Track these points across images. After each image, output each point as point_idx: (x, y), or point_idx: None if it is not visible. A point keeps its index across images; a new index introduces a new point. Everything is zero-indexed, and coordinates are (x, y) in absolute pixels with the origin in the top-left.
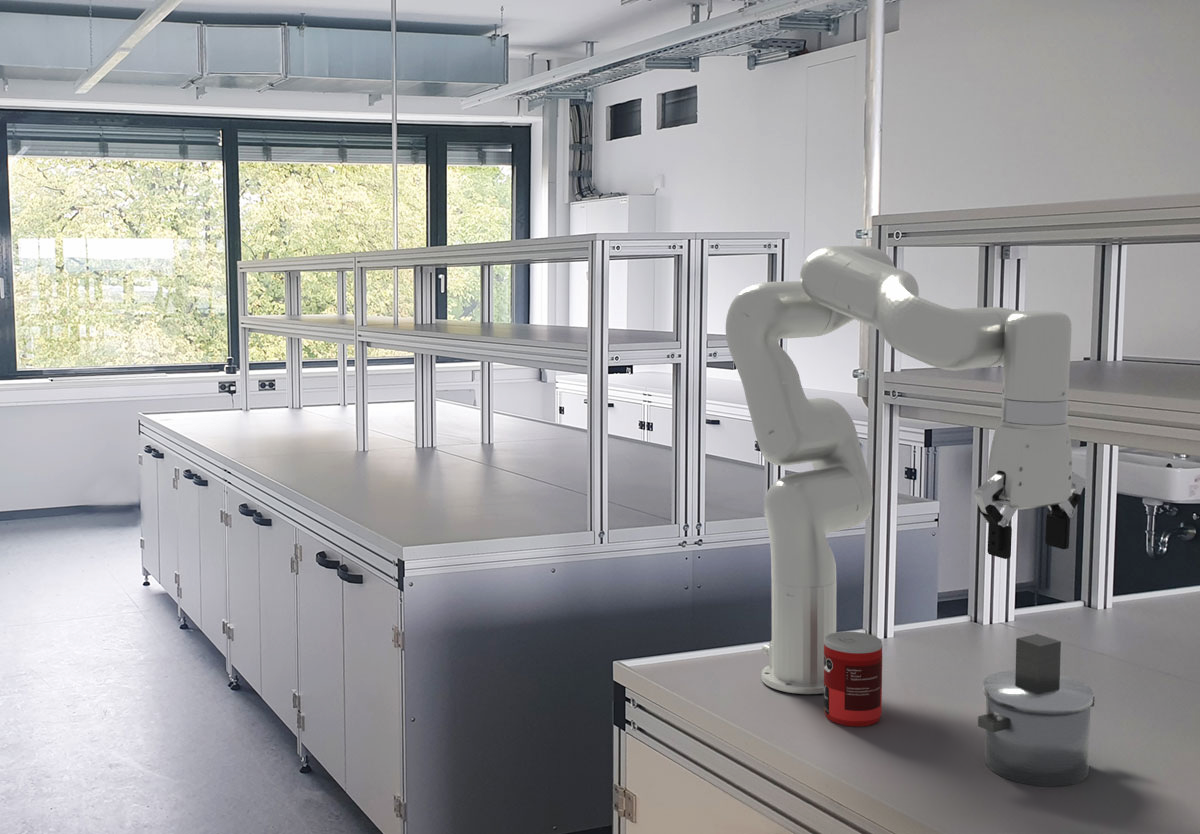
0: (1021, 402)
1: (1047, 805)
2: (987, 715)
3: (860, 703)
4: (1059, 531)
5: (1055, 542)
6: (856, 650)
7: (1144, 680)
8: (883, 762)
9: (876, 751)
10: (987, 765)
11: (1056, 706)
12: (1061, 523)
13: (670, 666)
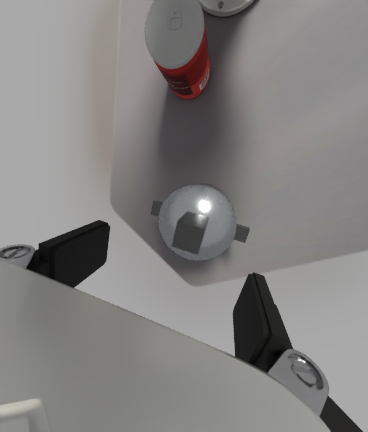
0: None
1: None
2: (158, 205)
3: (172, 88)
4: (239, 332)
5: (240, 300)
6: (153, 57)
7: None
8: (145, 147)
9: (154, 133)
10: None
11: (171, 249)
12: (240, 357)
13: None
